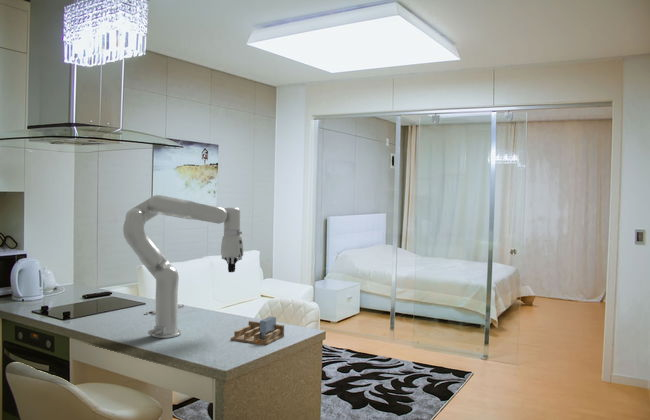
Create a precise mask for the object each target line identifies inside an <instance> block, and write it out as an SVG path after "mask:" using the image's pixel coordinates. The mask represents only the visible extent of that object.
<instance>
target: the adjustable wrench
mask: <svg viewBox="0 0 650 420" xmlns="http://www.w3.org/2000/svg"><path fill="white" fill-rule="evenodd" d="M180 305H182V306H180ZM184 307H185V304H179V305H178V309H181V308H184ZM145 315H146V316H148V315H152V316H156V309H155V310H147V311H146V312H145Z"/></svg>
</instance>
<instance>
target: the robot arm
mask: <svg viewBox="0 0 650 420" xmlns="http://www.w3.org/2000/svg"><path fill="white" fill-rule="evenodd" d="M158 215H161V216H162V215H163V216H169V217H174V218H180V219H185V220H194V221H201V222H207V223H213V224H223V236H222V238H221V239H222V240H221V243H220V244H221V245H220V246H221V248H220V255H221V259H222V260H224V261H226V264H227V270H228V273H234V272H236V264H237V262H238V261H241V260H243V256H244V244H243V243H244V242H243V237H242V236H241V235H242V234H243V232H242V231H241V209H240V208H239V207H219V206H214V205H208V204H204V203H199V202H195V201H192V200H187V199H182V198H177V197H172V196H167V195H161V194H156V195H152V196H151V197H149V198H148V199H146V200H144V201H143V202H141V203H139V204H138V205H136V206H134V207H132V208H131V209H129V210H128V211H127V212H126V214H125V220H124V222H123V228H122V230H123V231H122V232H123V235H124V236H123V237H124V239H125V242H126V243H127V244H128V245H129V246H130V248H131V249H132V251H133V252H134V254H135V255H137V257H138V258H139V261H140V262H141V263H142V265H143V266H144V267H145V268H146V269H147V271H148V272H149V273H150V274H151V276H153V278H154V279H155V310H156V315H155V326H153V329H150V330H148V335H149V336H150V335H151V336H152V337H154V338H156V339H167V338H168V339H169V338H175V337H178V336H180V335H181V334H182V331H181V330H180V329H178V313H179V312H178V310H179V308H178V301H179V300H178V295H179V294H178V291H179V280H180V279H179V272H178V270H177V268H176V267H174V266H173V265H172V264H171V263H170V261H169V260H168V259H167V257H165V255H164V254H163V252H162V250H161V249H160V248H159V247H158V246H156V244H155V243H154V242H153V241H152V240H151V238H150V237H149V236H148V234H147V233H146V232H145V224H146V223H147V222H148V221H150V220H152V219H153V218H155V217H156V216H158Z"/></svg>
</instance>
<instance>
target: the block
mask: <svg viewBox="0 0 650 420" xmlns="http://www.w3.org/2000/svg"><path fill="white" fill-rule="evenodd" d="M259 322H260V339H263V340H264V335H266V334H269V333H271V332H273V331H275V330H276V324H277V317H276V316H268V317H266V318H264V319H261V320H260V321H259Z"/></svg>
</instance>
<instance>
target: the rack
mask: <svg viewBox="0 0 650 420" xmlns="http://www.w3.org/2000/svg"><path fill="white" fill-rule="evenodd" d="M233 333H234V336H232V337H230V341H235V342H242V343H248V344H255V345H262V346H268V345H270V344H272V343H273V342H276V341H277V340H279V339H282V338H283V337H285V325H284V324H280V323H279V324H278V323H276V330H275V331H273V332H271V333H269V334H266V335H264V340H263V339H260V321H253V320H249V321H248V325H247V326H244V327H242V328H239V329H237V330H235V331H234V332H233Z"/></svg>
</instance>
